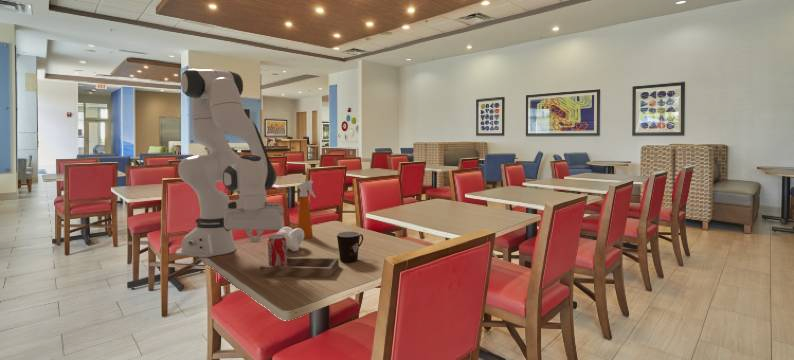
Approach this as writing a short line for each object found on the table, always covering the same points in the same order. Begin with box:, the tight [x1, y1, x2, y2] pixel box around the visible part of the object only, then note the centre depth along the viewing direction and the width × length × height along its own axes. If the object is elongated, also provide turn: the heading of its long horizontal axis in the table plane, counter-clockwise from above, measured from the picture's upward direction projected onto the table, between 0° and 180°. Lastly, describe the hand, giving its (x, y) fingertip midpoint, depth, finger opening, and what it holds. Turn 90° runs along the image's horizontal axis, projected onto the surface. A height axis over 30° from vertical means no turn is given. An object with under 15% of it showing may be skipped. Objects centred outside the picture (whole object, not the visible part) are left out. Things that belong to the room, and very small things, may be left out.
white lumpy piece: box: [276, 226, 305, 252], centre depth 171 cm, size 11×12×9 cm
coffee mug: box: [336, 230, 364, 264], centre depth 157 cm, size 12×9×10 cm
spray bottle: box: [297, 180, 317, 239], centre depth 191 cm, size 7×11×26 cm, turn 58°
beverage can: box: [267, 234, 288, 266], centre depth 145 cm, size 6×6×12 cm
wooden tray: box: [259, 256, 340, 278], centre depth 145 cm, size 24×11×3 cm, turn 85°
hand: (255, 242), depth 145 cm, fingers closed
